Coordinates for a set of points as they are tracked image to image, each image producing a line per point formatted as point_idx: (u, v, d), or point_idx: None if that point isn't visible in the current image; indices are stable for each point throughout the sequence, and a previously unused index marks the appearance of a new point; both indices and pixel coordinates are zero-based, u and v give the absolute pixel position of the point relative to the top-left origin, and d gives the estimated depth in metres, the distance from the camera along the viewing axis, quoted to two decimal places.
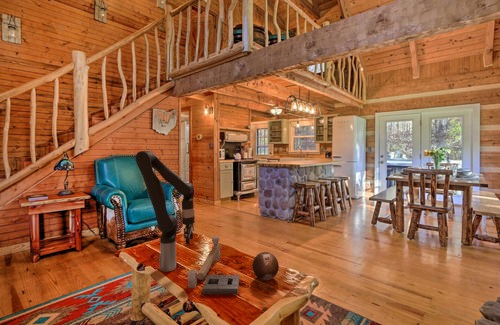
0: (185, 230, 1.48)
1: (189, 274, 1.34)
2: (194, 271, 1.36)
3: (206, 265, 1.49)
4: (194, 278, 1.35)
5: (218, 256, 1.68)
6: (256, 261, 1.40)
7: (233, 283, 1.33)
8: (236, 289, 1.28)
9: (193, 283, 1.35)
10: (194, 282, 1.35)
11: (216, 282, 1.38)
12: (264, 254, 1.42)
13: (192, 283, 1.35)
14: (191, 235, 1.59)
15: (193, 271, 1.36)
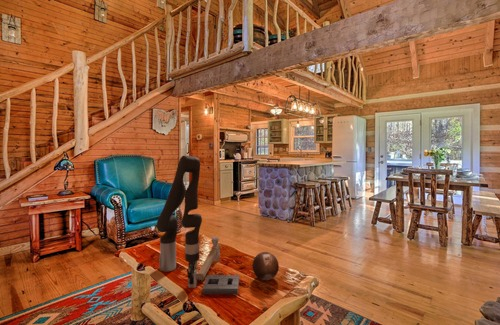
0: (189, 271, 1.30)
1: None
2: None
3: (205, 266, 1.48)
4: (194, 278, 1.35)
5: (217, 256, 1.68)
6: (256, 261, 1.40)
7: (233, 283, 1.33)
8: (236, 289, 1.28)
9: None
10: (194, 282, 1.35)
11: (216, 282, 1.38)
12: (264, 254, 1.42)
13: None
14: None
15: None
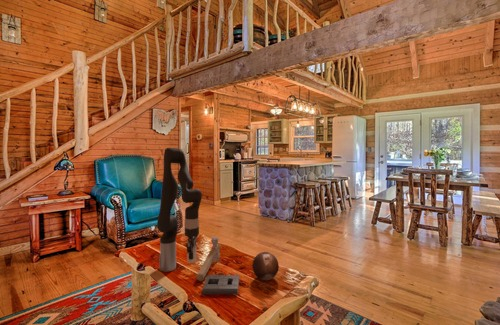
0: (188, 246, 1.29)
1: None
2: (194, 246, 1.36)
3: (205, 266, 1.48)
4: (193, 253, 1.34)
5: (217, 257, 1.67)
6: (256, 261, 1.40)
7: (233, 283, 1.33)
8: (236, 289, 1.28)
9: None
10: (193, 257, 1.34)
11: (216, 282, 1.38)
12: (264, 254, 1.42)
13: None
14: None
15: None
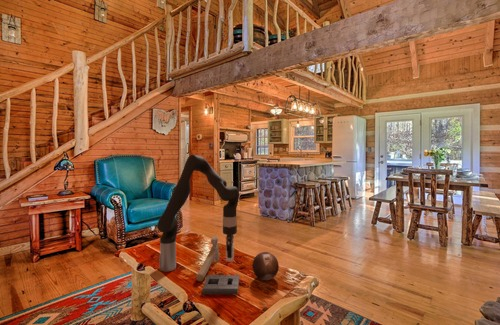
0: (228, 244, 1.28)
1: None
2: None
3: (205, 266, 1.47)
4: (232, 251, 1.33)
5: (217, 257, 1.67)
6: (256, 261, 1.40)
7: (233, 283, 1.33)
8: (236, 289, 1.28)
9: (231, 257, 1.33)
10: (232, 256, 1.33)
11: (216, 282, 1.38)
12: (264, 254, 1.42)
13: None
14: None
15: None
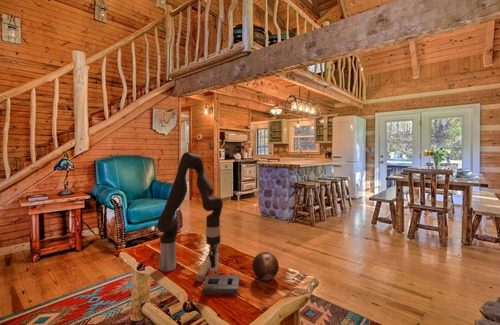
0: (211, 254, 1.28)
1: None
2: None
3: (205, 266, 1.47)
4: (216, 261, 1.33)
5: None
6: (256, 261, 1.40)
7: (233, 283, 1.33)
8: (236, 289, 1.28)
9: None
10: (216, 265, 1.33)
11: (216, 282, 1.38)
12: (264, 254, 1.42)
13: None
14: None
15: None
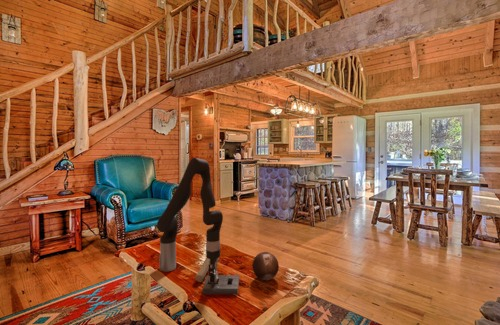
0: (210, 267, 1.28)
1: None
2: (215, 272, 1.35)
3: (204, 267, 1.46)
4: (215, 279, 1.34)
5: None
6: (256, 261, 1.40)
7: (233, 283, 1.33)
8: (236, 289, 1.28)
9: None
10: (215, 283, 1.34)
11: None
12: (264, 254, 1.42)
13: None
14: (215, 270, 1.39)
15: None
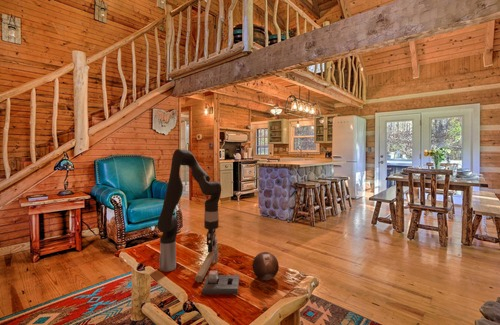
0: (208, 236, 1.28)
1: (210, 275, 1.33)
2: (215, 272, 1.35)
3: (204, 267, 1.46)
4: (215, 279, 1.34)
5: (216, 258, 1.66)
6: (256, 261, 1.40)
7: (233, 283, 1.33)
8: (236, 289, 1.28)
9: None
10: (215, 283, 1.34)
11: None
12: (264, 254, 1.42)
13: None
14: (213, 241, 1.39)
15: (213, 272, 1.35)
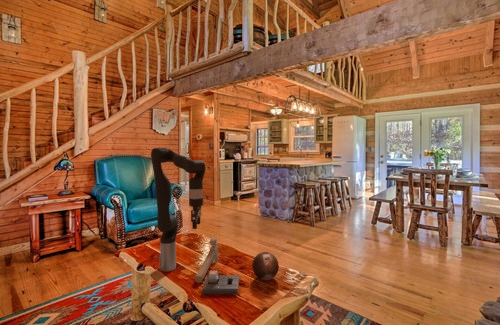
0: (192, 212, 1.30)
1: (210, 275, 1.33)
2: (215, 272, 1.35)
3: (204, 268, 1.45)
4: (215, 279, 1.34)
5: (216, 258, 1.65)
6: (256, 261, 1.40)
7: (233, 283, 1.33)
8: (236, 289, 1.28)
9: None
10: (215, 283, 1.34)
11: None
12: (264, 254, 1.42)
13: None
14: (198, 219, 1.41)
15: (213, 272, 1.35)
